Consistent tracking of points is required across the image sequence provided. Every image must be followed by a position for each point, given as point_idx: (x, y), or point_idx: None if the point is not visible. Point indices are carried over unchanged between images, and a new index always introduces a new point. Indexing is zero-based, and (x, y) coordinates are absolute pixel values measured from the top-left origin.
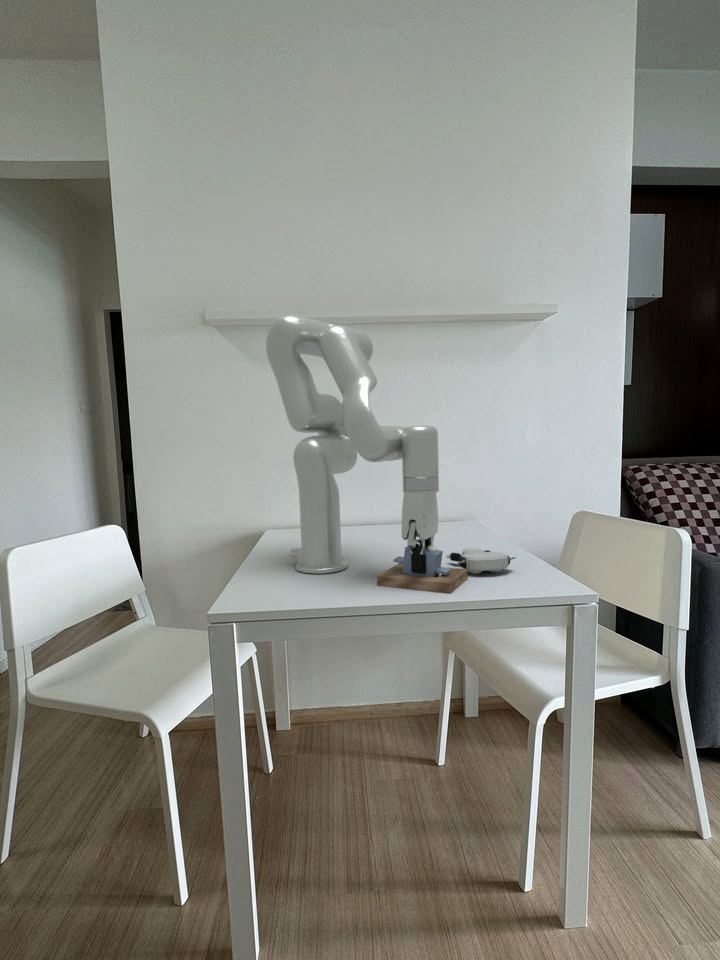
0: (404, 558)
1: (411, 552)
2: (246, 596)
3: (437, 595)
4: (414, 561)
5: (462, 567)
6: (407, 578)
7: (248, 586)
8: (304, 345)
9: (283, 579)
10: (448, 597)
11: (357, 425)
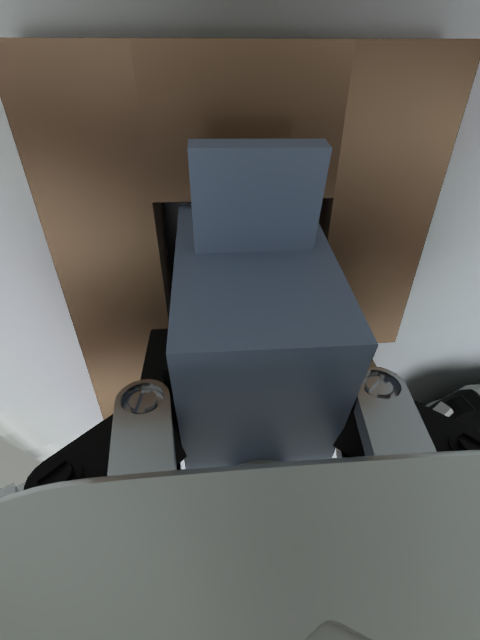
0: (175, 280)
1: (117, 406)
2: None
3: (76, 404)
4: (146, 365)
5: (460, 389)
6: (81, 293)
7: None
8: None
9: None
10: (79, 436)
11: None
